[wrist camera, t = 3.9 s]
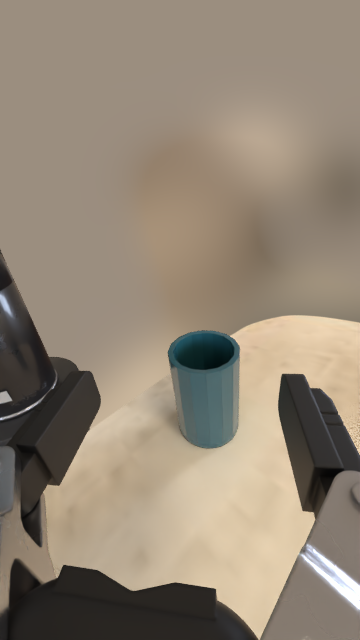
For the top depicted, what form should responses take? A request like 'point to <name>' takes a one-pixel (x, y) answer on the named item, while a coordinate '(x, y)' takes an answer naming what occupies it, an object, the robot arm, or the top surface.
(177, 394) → the cup
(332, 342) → the top surface
